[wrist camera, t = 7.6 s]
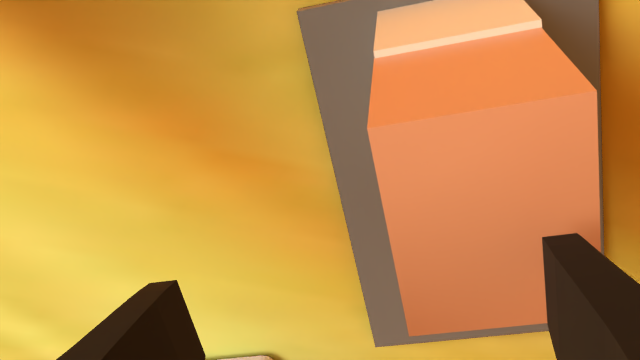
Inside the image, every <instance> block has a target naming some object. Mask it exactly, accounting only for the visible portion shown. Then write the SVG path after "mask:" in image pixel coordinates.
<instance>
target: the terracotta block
mask: <svg viewBox="0 0 640 360" xmlns="http://www.w3.org/2000/svg"><path fill="white" fill-rule="evenodd" d="M367 131H368V136H369V141H370V146H371V151H372V156H373V160H374V165H375V170H376V175H377V180H378V185H379V190H380V195H381V200H382V205H383V210H384V215H385V220H386V225H387V230H388V235H389V240H390V245H391V250H392V254H393V259H394V264H395V269H396V274H397V279H398V284H399V289H400V294H401V299H402V304H403V309H404V314H405V319H406V324H407V329H408V334H409V336H420V335H430V334H440V333H451V332H461V331H471V330H482V329H492V328H502V327H513V326H523V325H533V324H544V323H547V309H546V294H545V278H544V262H543V246H542V237H547V236H555V235H564V234H572V233H578V234H579V235H580V236H582V237H583V238H584V239H585V240H587V241H588V242H589V243H590V244H591V245H592V246H594V247H595V248H596V249H597V250H598V251H599V252H601V239H600V197H599V156H598V115H597V90H596V89H595V88H594V87H593V86H592V84H591V83H590V82H589V81H588V80H587V79H586V78H585V76H584V75H583V74H582V73H581V72H580V71H579V70H578V69H577V67H576V66H575V65H574V64H573V63H572V62H571V61H570V59H569V58H568V57H567V56H566V55H565V54H564V53H563V51H562V50H561V49H560V48H559V47H558V46H557V45H556V44H555V42H554V41H553V40H552V39H551V38H550V37H549V36H548V34H547V33H546V32H545V31H544V30H543V29H542V28H535V29H530V30H524V31H519V32H514V33H508V34H503V35H498V36H492V37H487V38H482V39H476V40H471V41H465V42H460V43H455V44H449V45H444V46H439V47H433V48H428V49H423V50H417V51H412V52H406V53H401V54H396V55H390V56H385V57H380V58H374V63H373V73H372V83H371V94H370V104H369V114H368V124H367Z"/></svg>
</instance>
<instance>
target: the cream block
mask: <svg viewBox="0 0 640 360" xmlns="http://www.w3.org/2000/svg"><path fill="white" fill-rule="evenodd" d="M535 28H542V19H541V18H540V17H539V16H538V15H537V14H536V13H535V12H534V11H533V10H532V9H531V7H530V6H529V5H528V4H527V3H526V2H525V1H524V0H432V1H427V2H422V3H417V4H412V5H407V6H402V7H397V8H393V9H388V10H383V11H378V12H377V22H376V31H375V40H374V50H373V52H374V57H375V58H380V57H385V56H390V55H396V54H401V53H406V52H412V51H417V50H423V49H428V48H433V47H439V46H444V45H449V44H455V43H460V42H465V41H471V40H476V39H482V38H487V37H492V36H498V35H503V34H508V33H514V32H519V31H524V30H530V29H535Z"/></svg>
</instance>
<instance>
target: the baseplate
mask: <svg viewBox="0 0 640 360" xmlns="http://www.w3.org/2000/svg"><path fill="white" fill-rule="evenodd" d="M427 1H432V0H338V1H334V2H329V3H324V4H319V5H314V6H309V7H305V8H300V9H298V10H297V15H298V19H299V24H300V28H301V32H302V36H303V41H304V45H305V49H306V53H307V58H308V62H309V66H310V70H311V75H312V79H313V83H314V87H315V92H316V96H317V100H318V104H319V109H320V113H321V117H322V121H323V126H324V130H325V134H326V138H327V143H328V147H329V151H330V155H331V160H332V164H333V168H334V172H335V177H336V181H337V185H338V189H339V194H340V198H341V202H342V206H343V211H344V215H345V219H346V223H347V228H348V232H349V236H350V240H351V245H352V249H353V253H354V257H355V262H356V266H357V270H358V275H359V279H360V283H361V287H362V292H363V296H364V300H365V304H366V309H367V313H368V317H369V321H370V326H371V330H372V334H373V338H374V343H375V347H382V346H393V345H403V344H414V343H425V342H435V341H446V340H456V339H467V338H478V337H488V336H499V335H509V334H520V333H530V332H541V331H549V328H548V325H547V323H544V324H533V325H523V326H513V327H502V328H492V329H482V330H471V331H461V332H451V333H440V334H430V335H420V336H409V334H408V329H407V324H406V319H405V314H404V309H403V304H402V299H401V294H400V289H399V284H398V279H397V274H396V269H395V264H394V259H393V254H392V250H391V245H390V240H389V235H388V230H387V225H386V220H385V215H384V210H383V205H382V200H381V195H380V190H379V185H378V180H377V175H376V170H375V165H374V160H373V156H372V151H371V146H370V141H369V136H368V131H367V124H368V114H369V104H370V94H371V83H372V73H373V63H374V58H375V57H374V52H373V50H374V40H375V31H376V22H377V12H378V11H383V10H388V9H393V8H397V7H402V6H407V5H412V4H417V3H422V2H427ZM524 1H525V2H526V3H527V4H528V5H529V6H530V7H531V9H532V10H533V11H534V12H535V13H536V14H537V15H538V16H539V17H540V18H541V19H542V29H543V30H544V31H545V32H546V33H547V34H548V36H549V37H550V38H551V39H552V40H553V41H554V42H555V44H556V45H557V46H558V47H559V48H560V49H561V50H562V51H563V53H564V54H565V55H566V56H567V57H568V58H569V59H570V61H571V62H572V63H573V64H574V65H575V66H576V67H577V69H578V70H579V71H580V72H581V73H582V74H583V75H584V76H585V78H586V79H587V80H588V81H589V82H590V83H591V84H592V86H593V87H594V88H595V89H596V90H597V115H598V156H599V197H600V239H601V253H602V254H603V255H604V225H603V179H602V132H601V85H600V39H599V0H524Z"/></svg>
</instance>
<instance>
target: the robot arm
mask: <svg viewBox="0 0 640 360" xmlns="http://www.w3.org/2000/svg"><path fill="white" fill-rule="evenodd" d="M542 246H543V262H544V278H545V294H546V309H547V325H548V328H549V332H550V336H551V340H552V344H553V347H554V351H555V355H556V358H557V360H640V284H639V283H637V282H636V281H635V280H634V279H632V278H631V277H630V276H628V275H627V274H626V273H625V272H623V271H622V270H621V269H620V268H619V267H617V266H616V265H615V264H614V263H613V262H611V261H610V260H609V259H608V258H607V257H605V256H604V255H603V254H602V253H601V252H599V251H598V250H597V249H596V248H595V247H594V246H592V245H591V244H590V243H589V242H588V241H587V240H585V239H584V238H583V237H582V236H580V235H579V234H578V233H572V234H564V235H555V236H547V237H542ZM56 360H205V353H204V351H203V348H202V345H201V343H200V340H199V338H198V335H197V332H196V330H195V327H194V324H193V322H192V319H191V316H190V314H189V311H188V309H187V306H186V303H185V301H184V298H183V295H182V293H181V290H180V288H179V285H178V282H177V280H173V281H165V282H156V283H149V284H148V285H146V286H145V287H144V288H142V289H141V290H139V291H138V292H137V293H136V294H134V295H133V296H132V297H131V298H129V299H128V300H127V301H126V302H125V303H123V304H122V305H121V306H120V307H119V308H117V309H116V310H115V311H114V312H113V313H111V314H110V315H109V316H108V317H107V318H106V319H104V320H103V321H102V322H101V323H100V324H99V325H97V326H96V327H95V328H94V329H93V330H92V331H90V332H89V333H88V334H87V335H86V336H84V337H83V338H82V339H81V340H80V341H79V342H77V343H76V344H75V345H74V346H73V347H71V348H70V349H69V350H68V351H67V352H65V353H64V354H63V355H62V356H60V357H59V358H58V359H56ZM219 360H273V359H272V358H270V357H268V356H262V355H261V356H251V357H240V358H230V359H219Z"/></svg>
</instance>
